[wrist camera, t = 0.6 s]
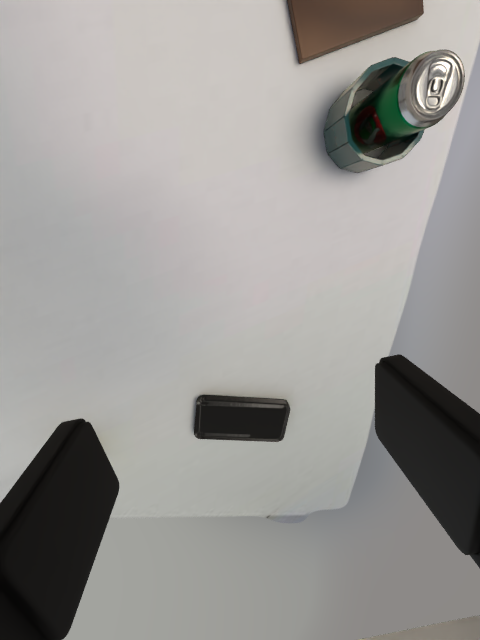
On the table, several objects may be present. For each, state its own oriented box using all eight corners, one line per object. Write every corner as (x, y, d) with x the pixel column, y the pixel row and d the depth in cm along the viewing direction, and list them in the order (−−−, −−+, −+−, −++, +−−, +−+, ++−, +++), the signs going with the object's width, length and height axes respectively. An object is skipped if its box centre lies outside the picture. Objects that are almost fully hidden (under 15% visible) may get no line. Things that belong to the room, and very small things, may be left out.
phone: (197, 399, 42) (291, 404, 44) (197, 394, 43) (289, 400, 45) (193, 439, 45) (282, 442, 47) (193, 434, 46) (281, 437, 48)
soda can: (385, 104, 31) (478, 44, 20) (377, 155, 33) (459, 125, 22) (342, 103, 31) (413, 40, 20) (336, 154, 33) (399, 123, 22)
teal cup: (317, 100, 31) (337, 77, 26) (391, 72, 30) (427, 44, 25) (332, 181, 34) (352, 176, 29) (400, 157, 34) (433, 147, 28)
